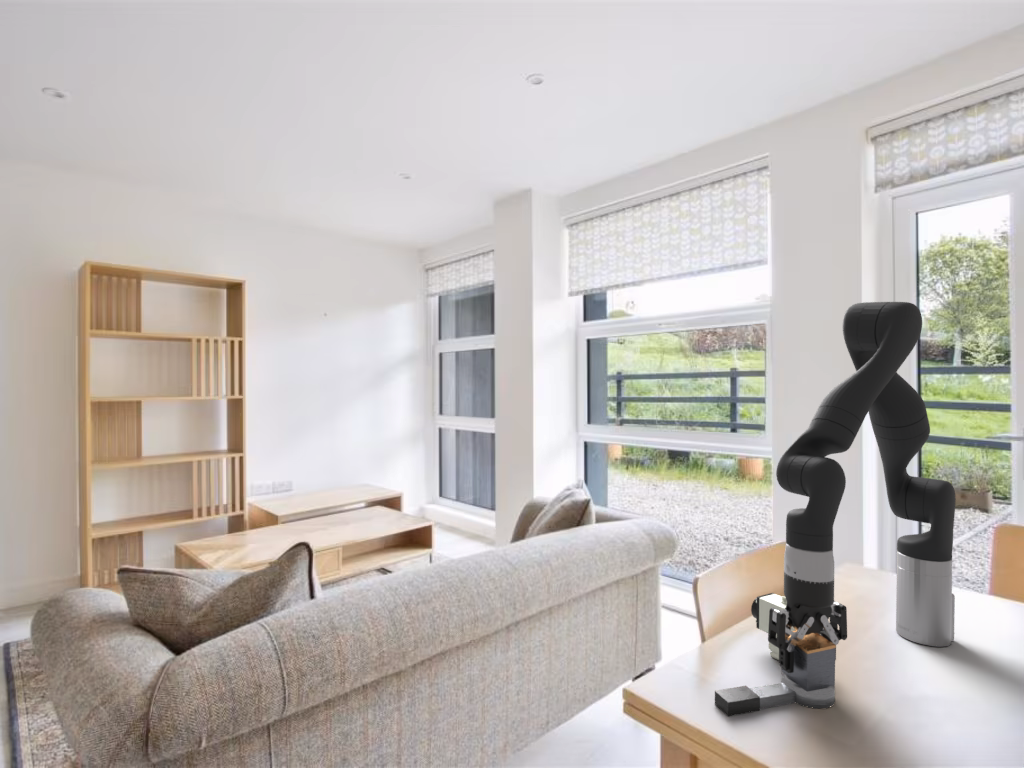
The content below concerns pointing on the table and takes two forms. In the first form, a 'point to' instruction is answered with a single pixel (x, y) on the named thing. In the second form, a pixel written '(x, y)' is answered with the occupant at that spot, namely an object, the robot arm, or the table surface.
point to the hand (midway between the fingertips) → (807, 667)
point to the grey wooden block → (813, 662)
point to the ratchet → (771, 697)
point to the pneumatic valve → (761, 613)
